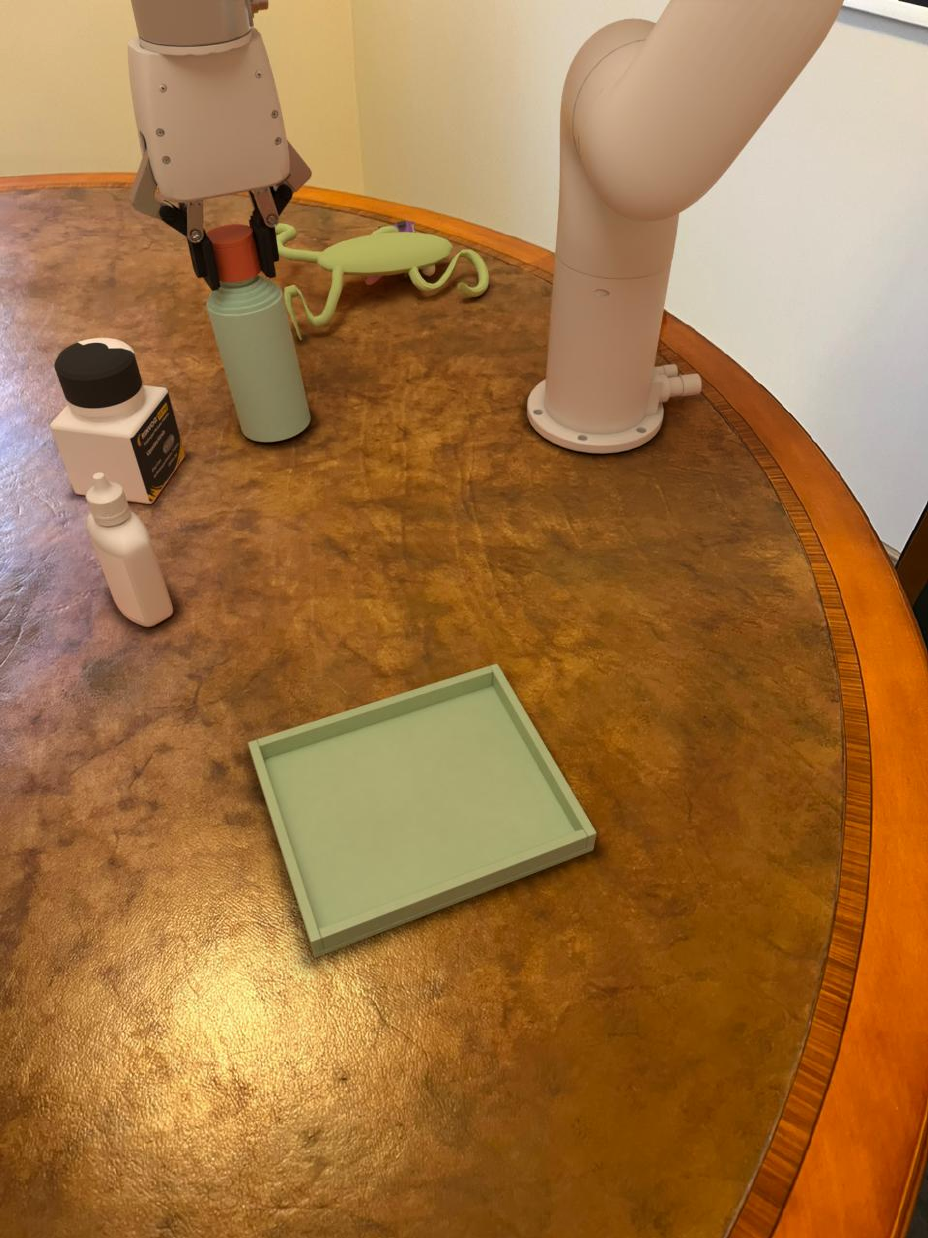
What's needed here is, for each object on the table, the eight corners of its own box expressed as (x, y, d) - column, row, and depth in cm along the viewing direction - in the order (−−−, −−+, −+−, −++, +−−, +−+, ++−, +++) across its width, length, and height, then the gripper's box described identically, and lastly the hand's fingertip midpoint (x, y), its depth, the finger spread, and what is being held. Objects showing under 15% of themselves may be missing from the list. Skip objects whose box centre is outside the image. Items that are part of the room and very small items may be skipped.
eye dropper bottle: (113, 636, 67) (61, 507, 59) (113, 584, 71) (65, 455, 62) (175, 625, 68) (133, 496, 59) (172, 574, 72) (132, 446, 63)
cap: (271, 266, 76) (263, 227, 74) (241, 285, 74) (232, 246, 72) (234, 259, 78) (224, 221, 76) (203, 278, 75) (192, 239, 73)
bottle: (307, 400, 88) (267, 223, 77) (314, 434, 84) (273, 251, 72) (240, 412, 87) (190, 236, 76) (243, 448, 83) (190, 265, 72)
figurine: (223, 274, 107) (214, 225, 103) (436, 231, 115) (434, 184, 111) (271, 349, 95) (262, 298, 91) (503, 296, 103) (505, 246, 99)
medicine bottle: (152, 506, 78) (113, 380, 69) (74, 495, 79) (25, 369, 70) (187, 456, 82) (154, 332, 74) (112, 446, 83) (71, 323, 75)
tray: (496, 681, 64) (497, 662, 63) (593, 850, 55) (597, 833, 54) (252, 760, 60) (247, 742, 58) (314, 958, 51) (310, 942, 49)
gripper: (291, -12, 67) (319, 239, 80) (53, 16, 62) (124, 279, 75) (329, 13, 63) (352, 274, 76) (76, 46, 57) (147, 321, 70)
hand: (238, 274), depth 75 cm, fingers closed on cap, 4 cm apart
